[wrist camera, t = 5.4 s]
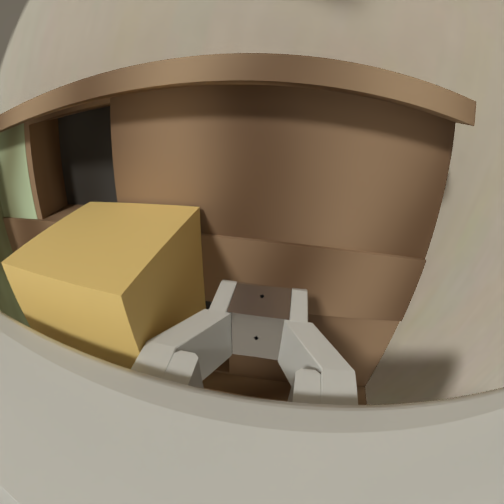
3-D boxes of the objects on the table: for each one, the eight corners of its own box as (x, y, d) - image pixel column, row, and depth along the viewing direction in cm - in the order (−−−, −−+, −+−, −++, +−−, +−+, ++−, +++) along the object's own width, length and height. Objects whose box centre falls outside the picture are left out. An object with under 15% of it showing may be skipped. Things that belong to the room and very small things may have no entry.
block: (199, 207, 9) (120, 295, 5) (206, 317, 12) (165, 414, 7) (89, 201, 10) (1, 262, 6) (112, 298, 12) (56, 370, 8)
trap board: (429, 100, 8) (512, 105, 3) (356, 363, 15) (363, 438, 11) (12, 119, 11) (-51, 140, 6) (56, 305, 18) (19, 347, 13)
